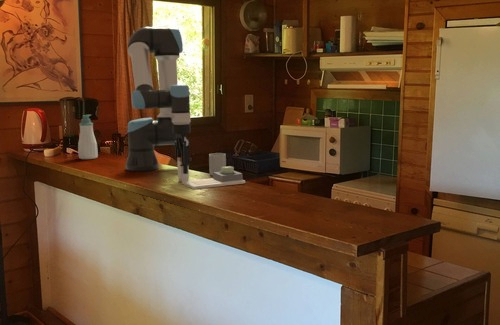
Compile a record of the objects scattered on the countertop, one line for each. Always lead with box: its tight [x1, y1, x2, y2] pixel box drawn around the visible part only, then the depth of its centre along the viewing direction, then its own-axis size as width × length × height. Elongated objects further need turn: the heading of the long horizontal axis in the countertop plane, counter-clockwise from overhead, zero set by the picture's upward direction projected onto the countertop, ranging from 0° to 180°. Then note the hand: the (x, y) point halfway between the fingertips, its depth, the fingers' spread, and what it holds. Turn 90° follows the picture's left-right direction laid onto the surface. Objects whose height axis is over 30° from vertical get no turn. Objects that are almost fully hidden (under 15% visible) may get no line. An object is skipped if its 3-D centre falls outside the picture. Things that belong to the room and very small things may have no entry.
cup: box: [208, 152, 227, 177], centre depth 245 cm, size 7×10×9 cm
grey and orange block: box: [176, 157, 190, 183], centre depth 230 cm, size 4×4×10 cm
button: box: [221, 165, 235, 175], centre depth 228 cm, size 5×5×3 cm
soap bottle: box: [77, 114, 99, 160], centre depth 298 cm, size 10×10×23 cm
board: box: [182, 170, 246, 190], centre depth 225 cm, size 12×22×4 cm, turn 116°
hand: (183, 180), depth 231 cm, fingers closed on grey and orange block, 3 cm apart
